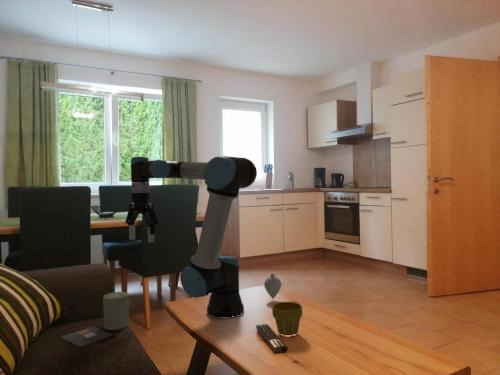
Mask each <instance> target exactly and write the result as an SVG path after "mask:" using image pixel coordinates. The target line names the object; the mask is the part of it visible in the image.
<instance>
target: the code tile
mask: <svg viewBox="0 0 500 375" xmlns="http://www.w3.org/2000/svg"><path fill="white" fill-rule="evenodd" d="M111 337H114V334H112V333H110V332H107V331H105V330H103V329H100V328H98V327H97V326H96V327H95V326H90V327H87V328H84V329H81V330H78V331H74V332H72V333H69V334H65V335H62V336H60V338H61V339H63V340H66V341H67V342H69V343H71V344H73V345H75V346H76V347H79V348H81V347H82V348H83V347H85V346H89V345H91V344H93V343H96V342H99V341H101V340H104V339H108V338H111Z"/></svg>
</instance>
